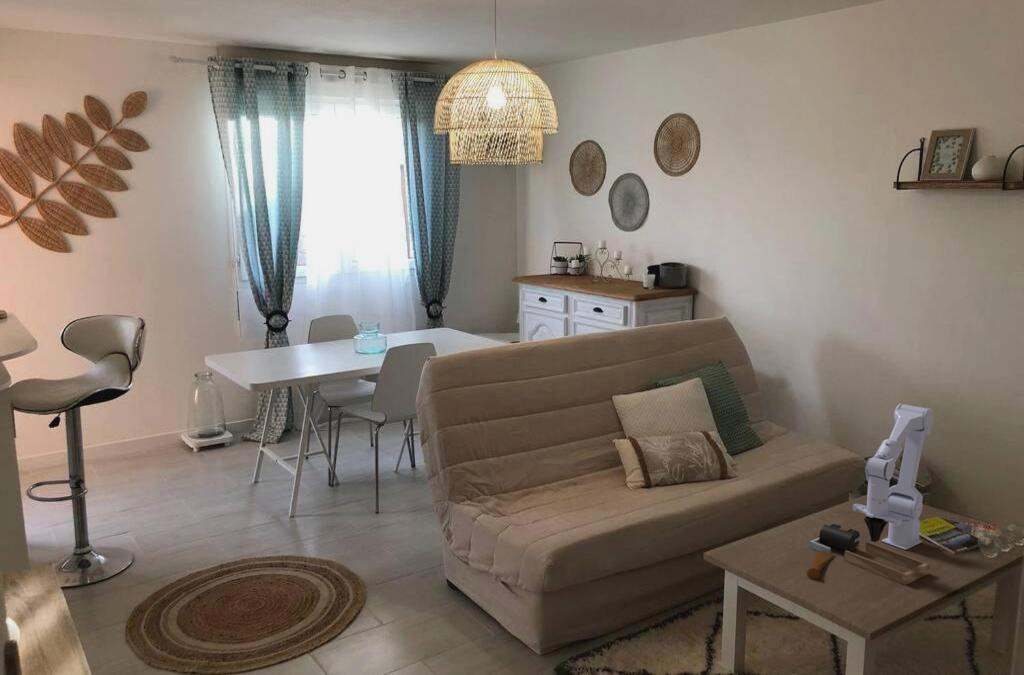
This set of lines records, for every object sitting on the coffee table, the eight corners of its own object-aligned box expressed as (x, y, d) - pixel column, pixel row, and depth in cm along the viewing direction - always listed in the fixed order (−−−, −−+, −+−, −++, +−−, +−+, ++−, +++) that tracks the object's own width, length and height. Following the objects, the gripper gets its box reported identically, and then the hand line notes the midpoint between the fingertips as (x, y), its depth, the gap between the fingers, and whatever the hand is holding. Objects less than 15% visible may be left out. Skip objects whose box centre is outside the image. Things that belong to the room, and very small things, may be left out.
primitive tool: (815, 553, 257) (816, 542, 256) (834, 556, 254) (835, 546, 254) (805, 579, 240) (806, 568, 240) (825, 583, 238) (826, 572, 237)
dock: (834, 536, 267) (834, 531, 267) (853, 544, 262) (854, 538, 261) (809, 547, 260) (809, 541, 260) (828, 555, 255) (828, 549, 254)
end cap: (818, 547, 260) (819, 527, 259) (829, 540, 265) (830, 520, 264) (849, 557, 253) (850, 536, 252) (860, 550, 258) (861, 530, 256)
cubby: (867, 550, 257) (868, 541, 257) (928, 573, 242) (929, 563, 241) (844, 560, 251) (844, 551, 250) (905, 585, 235) (906, 575, 234)
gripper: (847, 493, 249) (845, 535, 252) (893, 508, 238) (890, 552, 240) (861, 488, 253) (859, 529, 256) (906, 502, 241) (903, 546, 244)
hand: (875, 540), depth 248 cm, fingers closed
